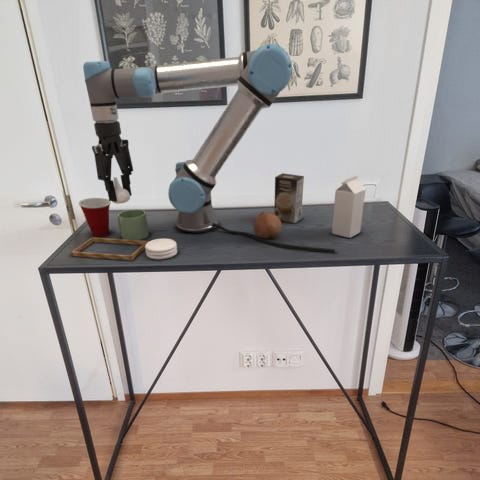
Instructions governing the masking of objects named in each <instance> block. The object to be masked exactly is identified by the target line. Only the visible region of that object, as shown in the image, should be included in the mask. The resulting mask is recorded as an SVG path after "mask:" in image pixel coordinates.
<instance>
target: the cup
mask: <svg viewBox="0 0 480 480" xmlns="http://www.w3.org/2000/svg"><path fill="white" fill-rule="evenodd" d="M117 220H118V221H117V222H118V226H119V232H120V236H121V239H123V240H139V241H142V240H144V239H147V238H148V237H149V236H150V230H149V225H148V216H147V212H146V210H143V209H127V210H123V211H121V212H118V214H117Z"/></svg>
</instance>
